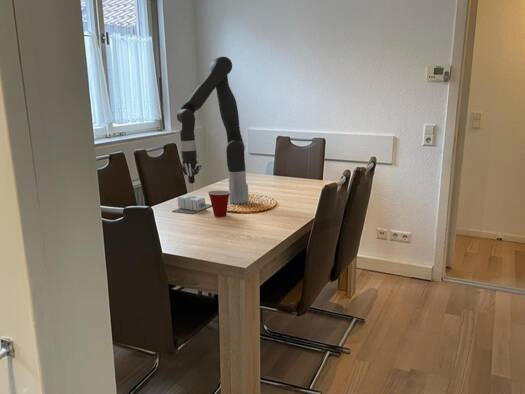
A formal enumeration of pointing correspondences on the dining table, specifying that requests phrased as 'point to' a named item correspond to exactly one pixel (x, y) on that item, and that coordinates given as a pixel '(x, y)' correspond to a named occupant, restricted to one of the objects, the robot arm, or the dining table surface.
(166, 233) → the dining table surface
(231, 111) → the robot arm
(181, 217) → the dining table surface
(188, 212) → the charcoal placemat
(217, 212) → the plastic cup
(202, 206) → the syrup box
